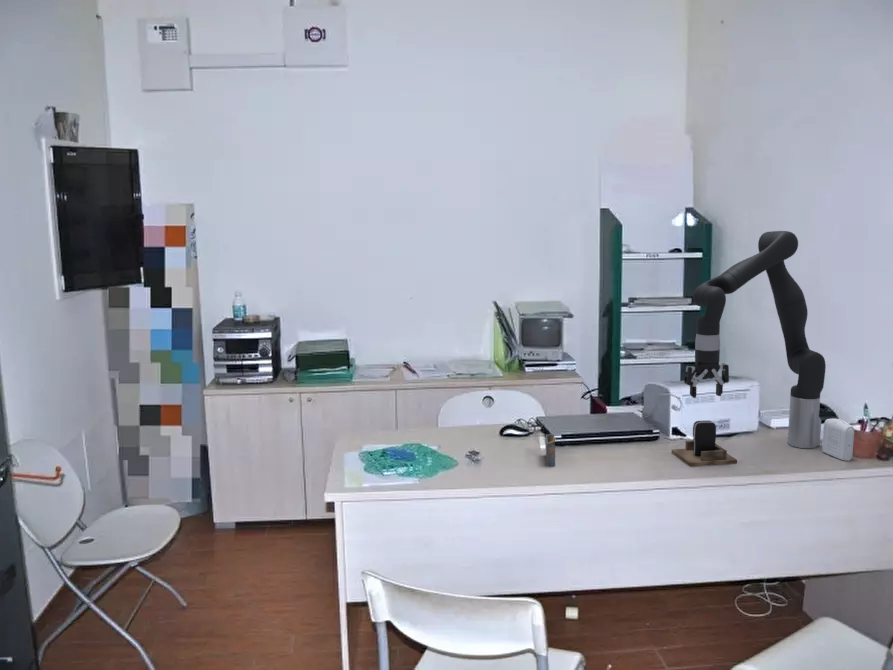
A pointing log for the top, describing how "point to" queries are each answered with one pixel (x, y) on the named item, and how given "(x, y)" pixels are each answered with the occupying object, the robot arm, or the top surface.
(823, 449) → the photo printer
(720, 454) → the u rest
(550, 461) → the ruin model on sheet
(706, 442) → the battery
